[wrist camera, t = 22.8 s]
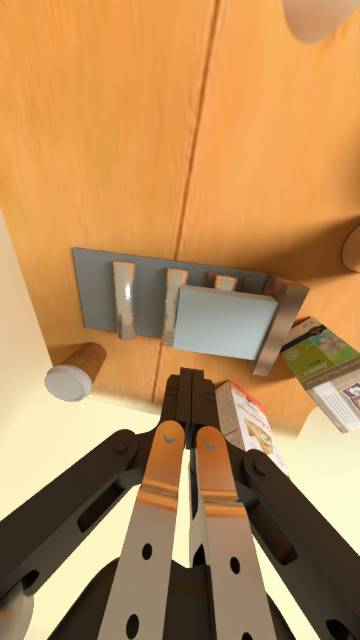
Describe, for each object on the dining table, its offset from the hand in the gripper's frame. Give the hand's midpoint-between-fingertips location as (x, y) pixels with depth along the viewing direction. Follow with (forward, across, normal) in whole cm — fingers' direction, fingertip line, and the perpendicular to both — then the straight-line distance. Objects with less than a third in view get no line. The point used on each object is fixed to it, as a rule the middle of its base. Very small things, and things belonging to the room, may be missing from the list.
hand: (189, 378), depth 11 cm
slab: (+22, -6, +6) cm, 23 cm away
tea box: (+27, -29, +13) cm, 42 cm away
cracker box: (+27, -18, +32) cm, 46 cm away
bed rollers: (+26, +8, +6) cm, 28 cm away
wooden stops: (+27, -10, +6) cm, 29 cm away
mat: (+27, +5, +6) cm, 28 cm away
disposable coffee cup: (+27, +23, +23) cm, 42 cm away
